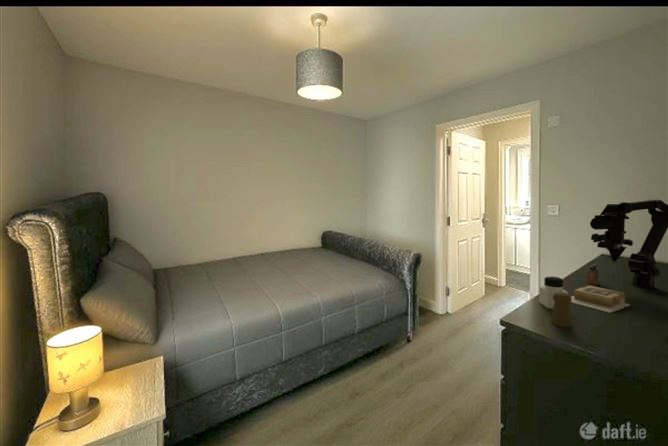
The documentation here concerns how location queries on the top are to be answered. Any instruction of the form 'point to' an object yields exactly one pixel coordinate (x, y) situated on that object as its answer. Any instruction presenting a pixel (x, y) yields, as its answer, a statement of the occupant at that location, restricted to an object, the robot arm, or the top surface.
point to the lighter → (593, 275)
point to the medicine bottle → (550, 291)
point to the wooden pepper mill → (561, 310)
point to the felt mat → (599, 307)
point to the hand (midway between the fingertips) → (614, 261)
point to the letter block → (599, 296)
